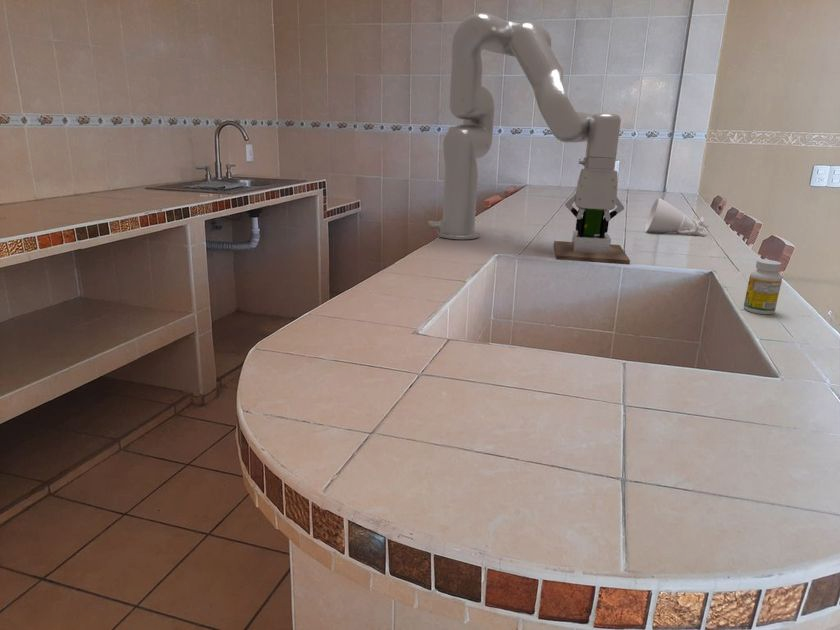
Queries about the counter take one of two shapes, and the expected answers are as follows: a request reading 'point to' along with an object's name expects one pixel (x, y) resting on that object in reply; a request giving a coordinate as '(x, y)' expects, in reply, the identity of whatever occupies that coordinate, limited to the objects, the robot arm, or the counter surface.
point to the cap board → (590, 250)
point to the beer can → (592, 223)
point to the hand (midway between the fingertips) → (590, 233)
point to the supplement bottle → (763, 287)
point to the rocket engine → (672, 220)
